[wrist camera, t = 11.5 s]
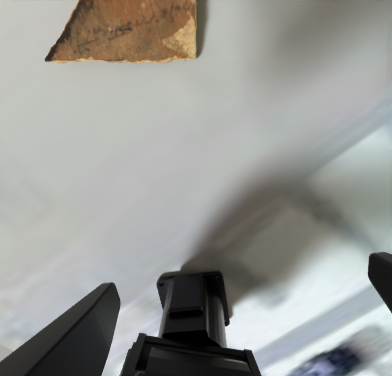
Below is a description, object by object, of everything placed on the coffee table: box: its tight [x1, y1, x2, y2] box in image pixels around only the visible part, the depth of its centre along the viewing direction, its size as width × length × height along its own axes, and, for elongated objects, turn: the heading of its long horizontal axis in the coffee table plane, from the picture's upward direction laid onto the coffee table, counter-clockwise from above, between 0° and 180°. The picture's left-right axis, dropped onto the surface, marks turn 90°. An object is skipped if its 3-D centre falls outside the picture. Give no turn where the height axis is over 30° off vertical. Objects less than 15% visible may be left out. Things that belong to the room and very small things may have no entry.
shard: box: [45, 0, 197, 63], centre depth 15 cm, size 11×8×2 cm
